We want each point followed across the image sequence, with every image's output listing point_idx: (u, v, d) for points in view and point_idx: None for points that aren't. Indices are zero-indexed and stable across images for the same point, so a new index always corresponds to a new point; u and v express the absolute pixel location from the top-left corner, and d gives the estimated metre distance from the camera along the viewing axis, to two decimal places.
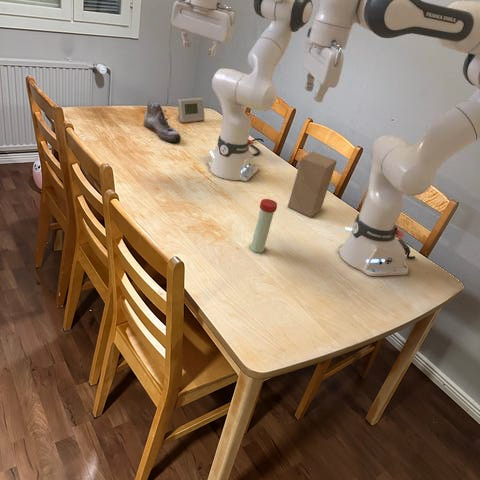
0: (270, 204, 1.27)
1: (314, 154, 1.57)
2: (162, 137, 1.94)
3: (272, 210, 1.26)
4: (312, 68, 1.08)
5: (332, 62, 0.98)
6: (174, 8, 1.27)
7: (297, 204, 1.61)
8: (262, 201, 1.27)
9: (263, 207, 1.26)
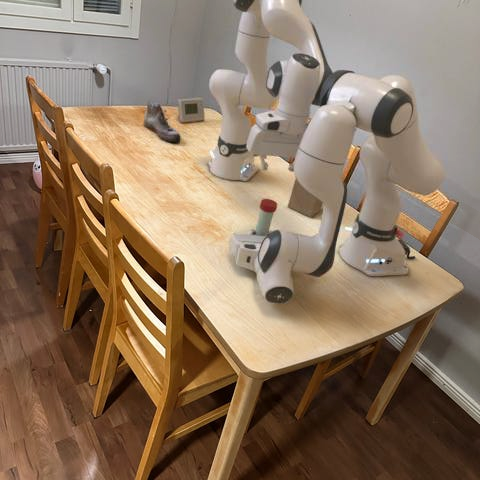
0: (270, 204, 1.27)
1: None
2: (162, 137, 1.94)
3: (272, 210, 1.26)
4: None
5: None
6: (257, 137, 1.12)
7: (297, 204, 1.61)
8: (262, 201, 1.27)
9: (263, 207, 1.26)
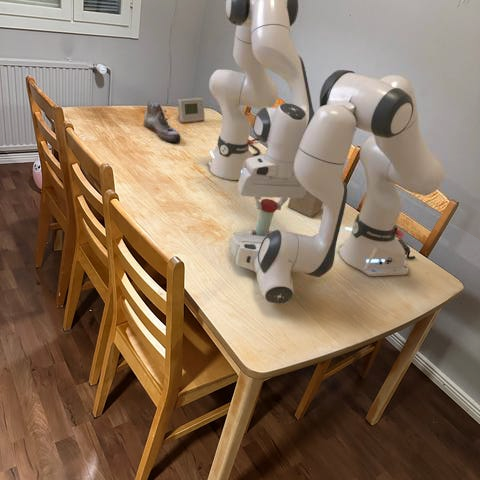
0: (270, 204, 1.27)
1: None
2: (162, 137, 1.94)
3: (272, 210, 1.26)
4: None
5: None
6: (247, 181, 1.18)
7: (297, 204, 1.61)
8: (262, 201, 1.27)
9: (263, 207, 1.26)
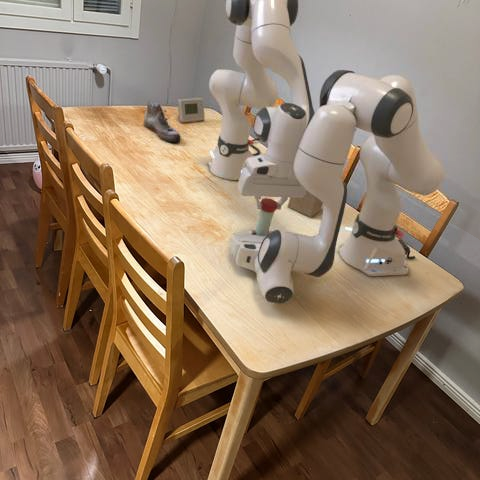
0: (272, 203, 1.27)
1: None
2: (162, 137, 1.94)
3: (276, 207, 1.28)
4: None
5: None
6: (248, 180, 1.18)
7: (297, 204, 1.61)
8: (265, 204, 1.26)
9: (270, 208, 1.26)
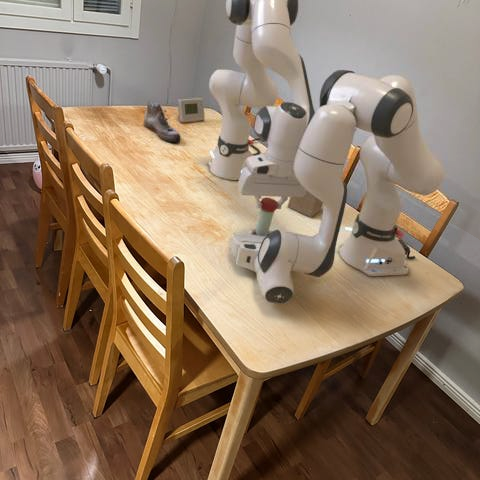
0: (271, 201, 1.28)
1: None
2: (162, 137, 1.94)
3: None
4: None
5: None
6: (248, 180, 1.18)
7: (297, 204, 1.61)
8: (271, 205, 1.26)
9: (275, 207, 1.27)
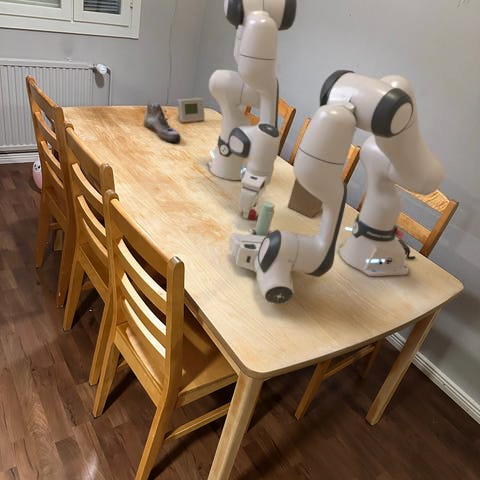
0: None
1: None
2: (162, 137, 1.94)
3: None
4: None
5: None
6: (254, 198, 1.38)
7: (297, 204, 1.61)
8: (255, 213, 1.51)
9: None
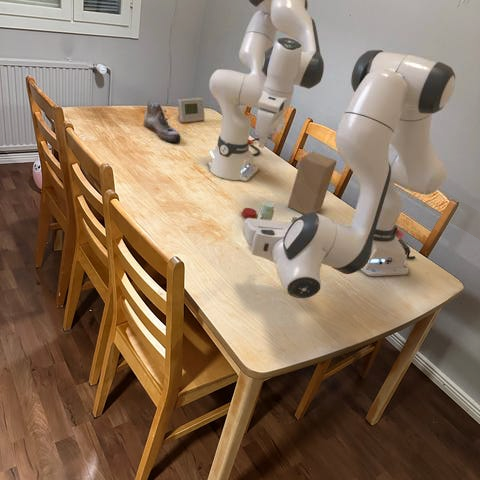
0: (249, 209, 1.52)
1: (314, 154, 1.57)
2: (162, 137, 1.94)
3: None
4: None
5: None
6: (272, 121, 1.25)
7: (297, 204, 1.61)
8: (255, 213, 1.51)
9: None
